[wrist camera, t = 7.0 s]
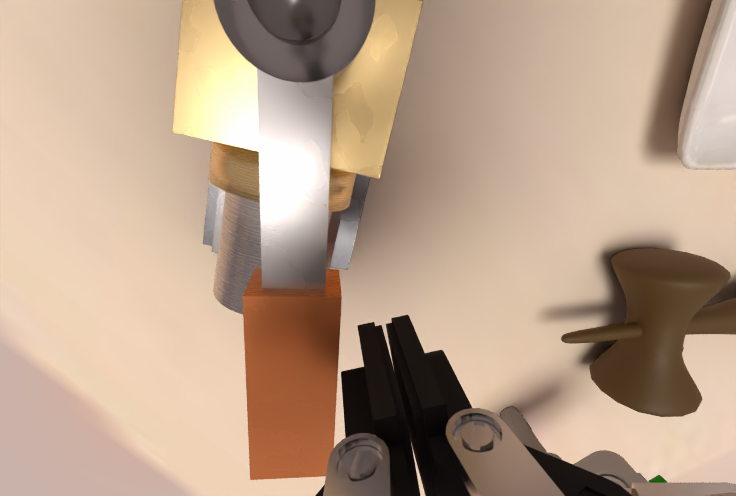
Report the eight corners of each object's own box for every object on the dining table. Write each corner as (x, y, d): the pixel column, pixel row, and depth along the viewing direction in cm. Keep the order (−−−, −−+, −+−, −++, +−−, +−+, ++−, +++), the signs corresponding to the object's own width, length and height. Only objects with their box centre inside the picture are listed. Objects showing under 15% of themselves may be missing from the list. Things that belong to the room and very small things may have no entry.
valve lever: (225, -80, 8) (194, -142, 6) (372, -60, 9) (387, -112, 7) (247, 432, 13) (234, 490, 11) (342, 429, 13) (346, 484, 11)
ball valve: (261, -215, 16) (138, -885, 5) (441, -144, 17) (629, -554, 7) (210, 235, 22) (105, 349, 11) (346, 260, 23) (366, 381, 13)
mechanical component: (444, 438, 29) (503, 594, 19) (559, 365, 28) (680, 493, 18) (463, 460, 30) (528, 618, 20) (575, 390, 29) (698, 524, 19)
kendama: (763, 342, 30) (528, 374, 28) (800, 225, 27) (541, 251, 25) (867, 392, 24) (584, 438, 22) (929, 252, 21) (609, 288, 19)
